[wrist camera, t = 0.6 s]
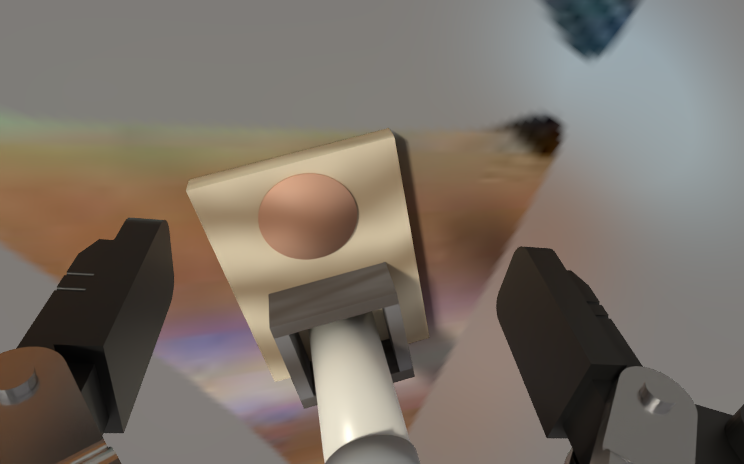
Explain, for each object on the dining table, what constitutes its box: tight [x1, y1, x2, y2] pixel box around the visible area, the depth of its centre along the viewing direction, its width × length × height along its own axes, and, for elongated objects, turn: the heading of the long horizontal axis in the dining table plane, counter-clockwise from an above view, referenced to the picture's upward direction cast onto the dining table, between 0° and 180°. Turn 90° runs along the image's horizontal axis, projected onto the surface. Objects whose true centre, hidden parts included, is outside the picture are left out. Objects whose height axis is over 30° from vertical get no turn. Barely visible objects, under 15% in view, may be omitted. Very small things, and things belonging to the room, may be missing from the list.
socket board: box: [186, 128, 429, 409], centre depth 34 cm, size 18×13×5 cm
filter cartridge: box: [308, 311, 420, 464], centre depth 32 cm, size 5×5×14 cm
